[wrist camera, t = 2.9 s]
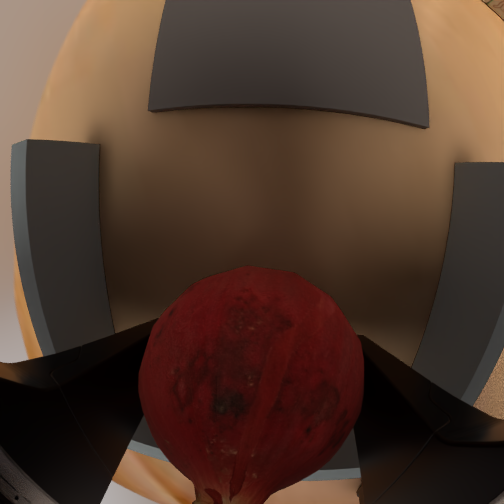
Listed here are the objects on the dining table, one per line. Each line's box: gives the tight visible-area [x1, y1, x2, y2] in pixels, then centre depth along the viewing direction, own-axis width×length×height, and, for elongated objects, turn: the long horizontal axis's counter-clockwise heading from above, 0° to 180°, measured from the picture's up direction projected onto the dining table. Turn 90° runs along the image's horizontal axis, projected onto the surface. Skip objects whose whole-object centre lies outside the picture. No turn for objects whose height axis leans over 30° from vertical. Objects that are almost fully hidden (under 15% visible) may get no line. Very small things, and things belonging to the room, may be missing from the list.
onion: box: [138, 265, 364, 504], centre depth 6 cm, size 6×6×8 cm
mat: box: [148, 0, 429, 129], centre depth 7 cm, size 10×9×1 cm
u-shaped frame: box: [11, 139, 504, 481], centre depth 8 cm, size 16×12×4 cm
